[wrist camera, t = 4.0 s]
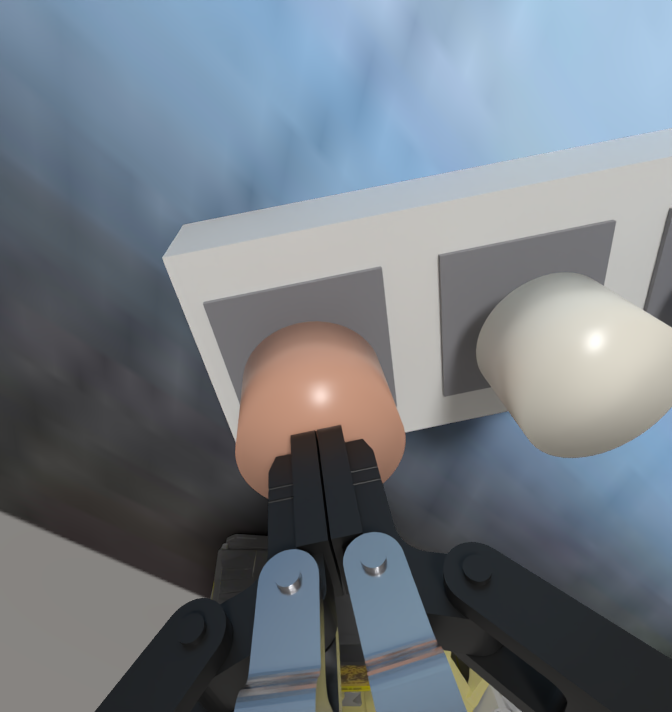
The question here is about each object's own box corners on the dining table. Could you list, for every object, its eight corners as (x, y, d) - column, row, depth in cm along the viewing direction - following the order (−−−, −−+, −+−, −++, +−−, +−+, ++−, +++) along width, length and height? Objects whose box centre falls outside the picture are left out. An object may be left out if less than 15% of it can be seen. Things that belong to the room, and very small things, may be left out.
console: (774, 107, 18) (895, 113, 14) (701, 317, 23) (777, 358, 20) (183, 224, 18) (160, 260, 14) (249, 409, 23) (244, 468, 20)
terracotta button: (372, 308, 14) (398, 365, 11) (387, 420, 17) (410, 490, 14) (224, 338, 14) (212, 404, 11) (262, 445, 17) (260, 521, 14)
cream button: (623, 259, 14) (714, 304, 11) (598, 378, 17) (665, 440, 14) (477, 288, 14) (530, 342, 11) (474, 404, 17) (517, 471, 14)
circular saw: (576, 619, 41) (340, 690, 45) (512, 417, 25) (154, 557, 29) (652, 766, 32) (353, 836, 37) (632, 605, 16) (99, 763, 20)
